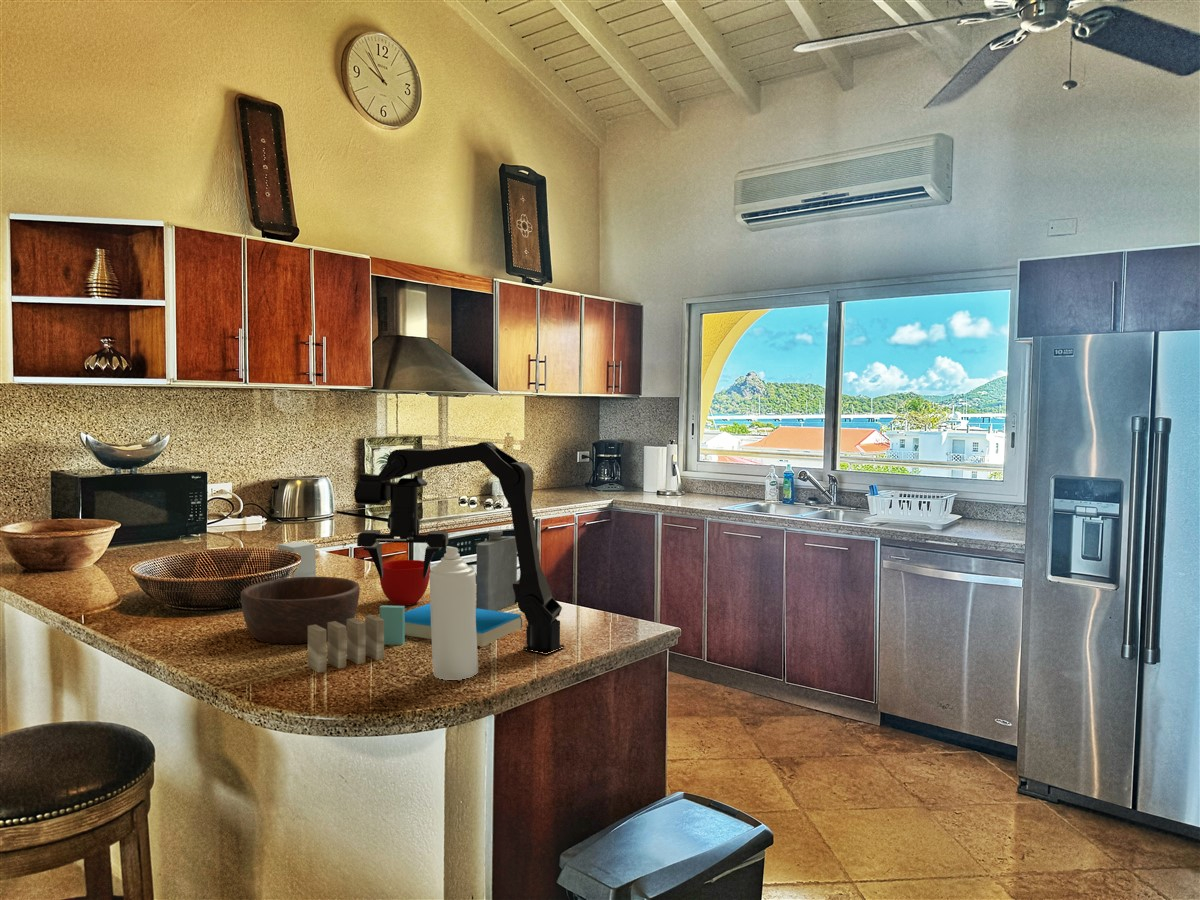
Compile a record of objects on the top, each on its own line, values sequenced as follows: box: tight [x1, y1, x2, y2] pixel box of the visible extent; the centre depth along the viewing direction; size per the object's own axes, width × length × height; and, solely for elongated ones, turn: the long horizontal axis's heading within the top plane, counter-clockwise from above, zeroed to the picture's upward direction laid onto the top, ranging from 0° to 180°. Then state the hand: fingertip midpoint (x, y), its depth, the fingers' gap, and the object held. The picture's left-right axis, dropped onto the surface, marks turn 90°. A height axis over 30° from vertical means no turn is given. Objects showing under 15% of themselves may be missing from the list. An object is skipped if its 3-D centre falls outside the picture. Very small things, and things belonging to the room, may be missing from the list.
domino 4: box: [364, 614, 385, 661], centre depth 165 cm, size 2×5×8 cm, turn 42°
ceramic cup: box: [379, 559, 431, 606], centre depth 213 cm, size 13×17×10 cm
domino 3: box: [346, 617, 366, 665], centre depth 162 cm, size 2×5×8 cm, turn 42°
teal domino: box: [379, 605, 406, 646], centre depth 174 cm, size 2×5×8 cm, turn 87°
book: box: [405, 603, 523, 648], centre depth 185 cm, size 17×4×25 cm
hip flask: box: [476, 529, 518, 611], centre depth 205 cm, size 16×4×20 cm, turn 154°
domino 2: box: [327, 621, 347, 669], centre depth 159 cm, size 2×5×8 cm, turn 42°
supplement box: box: [277, 540, 317, 578], centre depth 225 cm, size 7×7×13 cm
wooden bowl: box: [240, 576, 361, 645], centre depth 182 cm, size 25×25×10 cm
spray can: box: [429, 545, 479, 681], centre depth 153 cm, size 12×11×25 cm
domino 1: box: [307, 624, 327, 673], centre depth 157 cm, size 2×5×8 cm, turn 42°
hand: (403, 577), depth 176 cm, fingers open, 9 cm apart
